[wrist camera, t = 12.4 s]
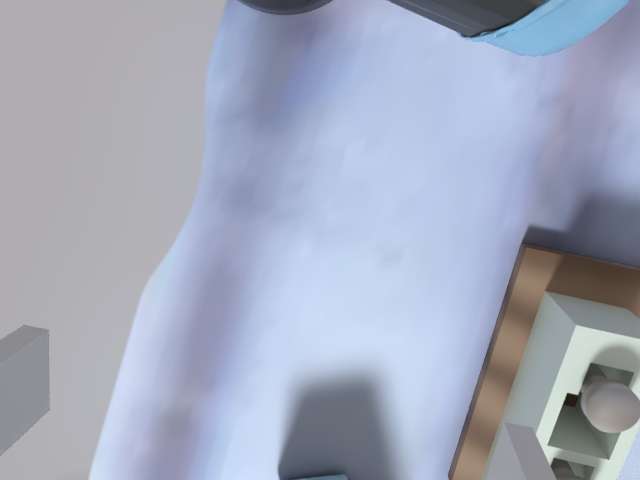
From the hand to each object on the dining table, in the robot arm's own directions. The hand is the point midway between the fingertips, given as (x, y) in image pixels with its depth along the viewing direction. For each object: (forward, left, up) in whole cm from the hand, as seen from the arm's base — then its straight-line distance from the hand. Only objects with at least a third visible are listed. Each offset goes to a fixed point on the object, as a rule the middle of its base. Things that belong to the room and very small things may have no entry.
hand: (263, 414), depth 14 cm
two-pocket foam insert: (+14, +22, -30) cm, 40 cm away
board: (+12, +22, -31) cm, 40 cm away
